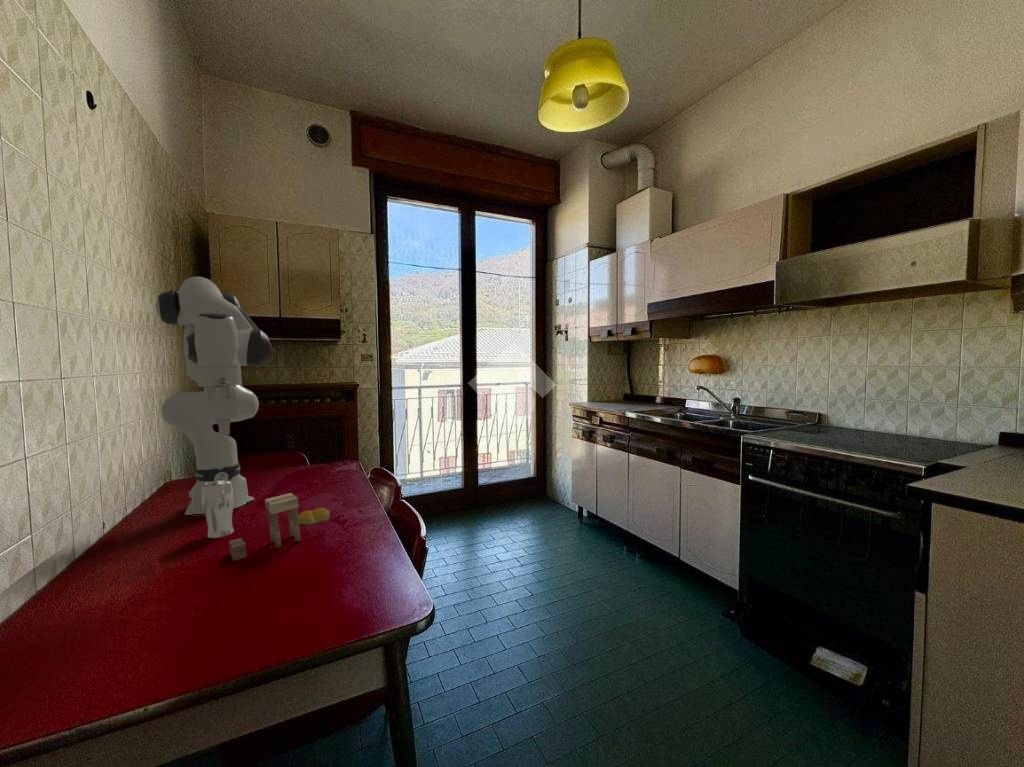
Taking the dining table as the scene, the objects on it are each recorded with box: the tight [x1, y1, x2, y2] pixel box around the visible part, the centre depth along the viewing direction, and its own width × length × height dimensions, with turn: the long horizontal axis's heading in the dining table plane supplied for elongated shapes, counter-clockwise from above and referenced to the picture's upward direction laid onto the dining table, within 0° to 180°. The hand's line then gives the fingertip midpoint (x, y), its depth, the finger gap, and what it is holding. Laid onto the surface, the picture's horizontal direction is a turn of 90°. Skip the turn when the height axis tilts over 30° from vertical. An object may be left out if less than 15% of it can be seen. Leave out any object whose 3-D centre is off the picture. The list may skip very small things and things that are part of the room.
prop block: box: [228, 537, 247, 561], centre depth 98 cm, size 5×2×3 cm, turn 43°
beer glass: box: [202, 479, 235, 539], centre depth 112 cm, size 7×7×15 cm
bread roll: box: [298, 507, 331, 526], centre depth 120 cm, size 8×9×4 cm
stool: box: [264, 492, 302, 549], centre depth 104 cm, size 6×6×11 cm
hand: (224, 434), depth 102 cm, fingers closed
